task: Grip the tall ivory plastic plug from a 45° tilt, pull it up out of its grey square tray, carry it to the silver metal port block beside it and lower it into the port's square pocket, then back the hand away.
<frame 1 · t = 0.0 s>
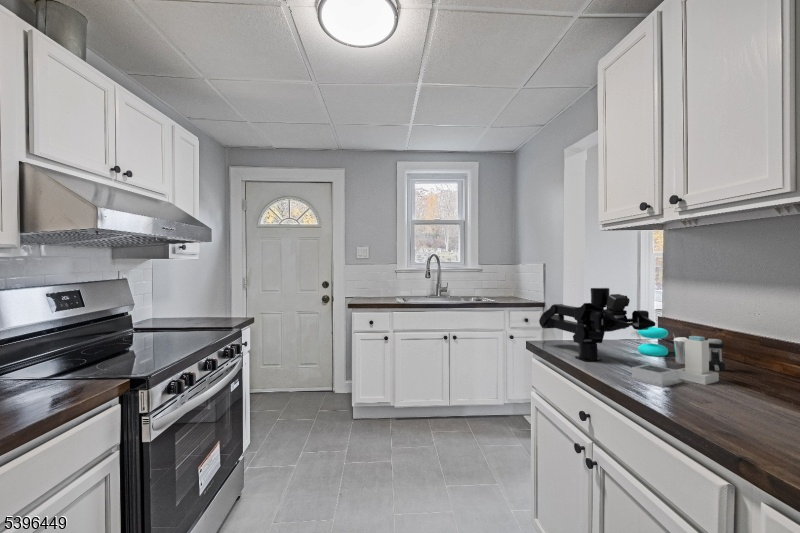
hand: (641, 324, 122), 17 cm above the worktop, tool horizontal, fingers open, 9 cm apart
grey square tray: (696, 379, 121), on the worktop
black and grey device: (712, 370, 132), on the worktop
donuts: (652, 354, 155), on the worktop
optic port: (654, 380, 120), on the worktop
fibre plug: (696, 358, 121), in the grey square tray
milkshake: (680, 363, 141), on the worktop
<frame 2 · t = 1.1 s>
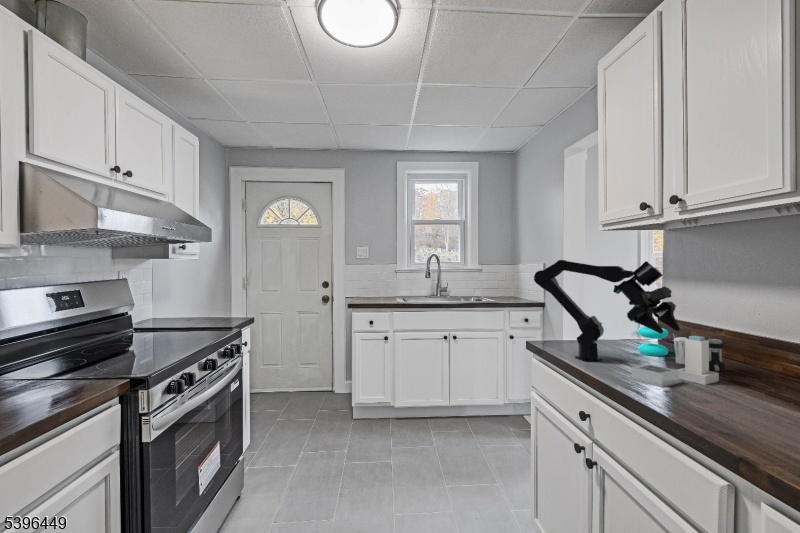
hand: (670, 331, 127), 14 cm above the worktop, tool tilted 45°, fingers open, 9 cm apart
nothing on the worktop moved.
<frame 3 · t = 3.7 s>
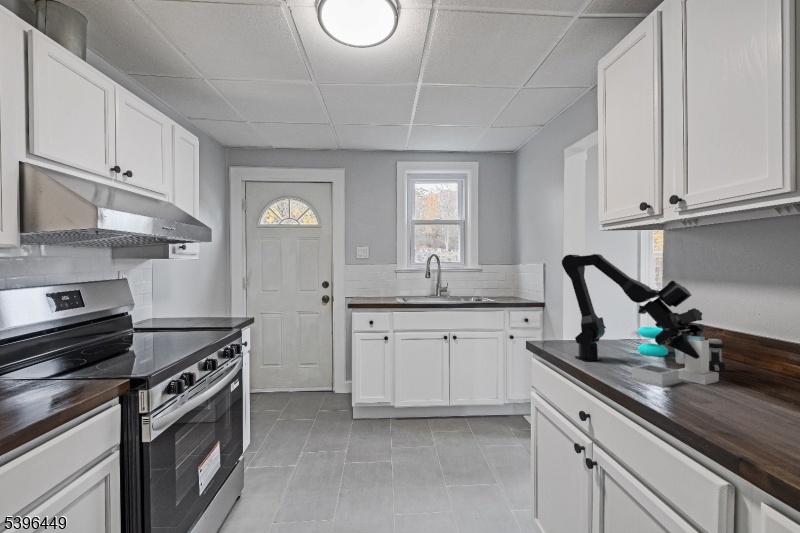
hand: (702, 357, 120), 7 cm above the worktop, tool tilted 45°, fingers closed on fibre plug, 4 cm apart
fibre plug: (696, 358, 121), in the grey square tray, touching gripper
everything else where it was.
when the fingers open (9 cm above the worktop, at t = 8.2 s): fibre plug stays where it is, resting on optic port.
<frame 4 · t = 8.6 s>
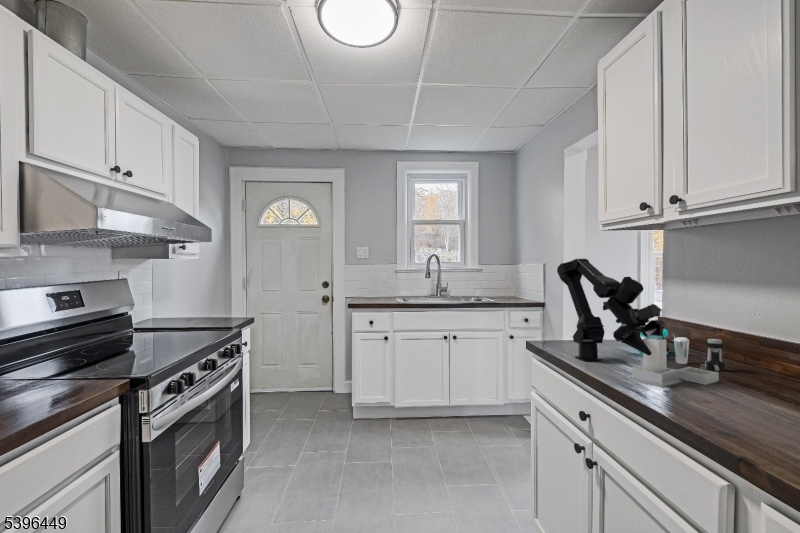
hand: (659, 353, 119), 9 cm above the worktop, tool tilted 45°, fingers open, 9 cm apart
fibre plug: (654, 357, 120), in the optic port
everything else where it was.
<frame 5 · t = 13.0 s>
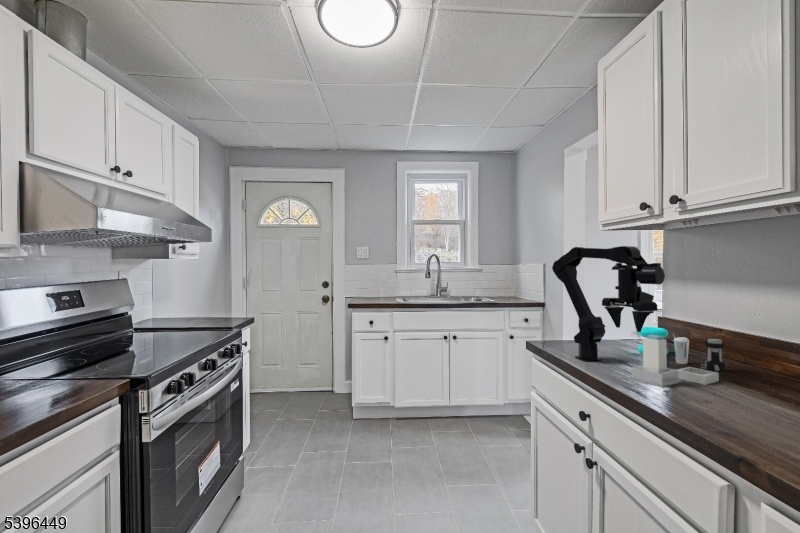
hand: (628, 329, 135), 13 cm above the worktop, tool pointing down, fingers open, 9 cm apart
nothing on the worktop moved.
at the end: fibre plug 0.0 cm off-centre on the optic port, point 7.0 cm above the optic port's base; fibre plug tilted 0°; the gripper is holding nothing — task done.
